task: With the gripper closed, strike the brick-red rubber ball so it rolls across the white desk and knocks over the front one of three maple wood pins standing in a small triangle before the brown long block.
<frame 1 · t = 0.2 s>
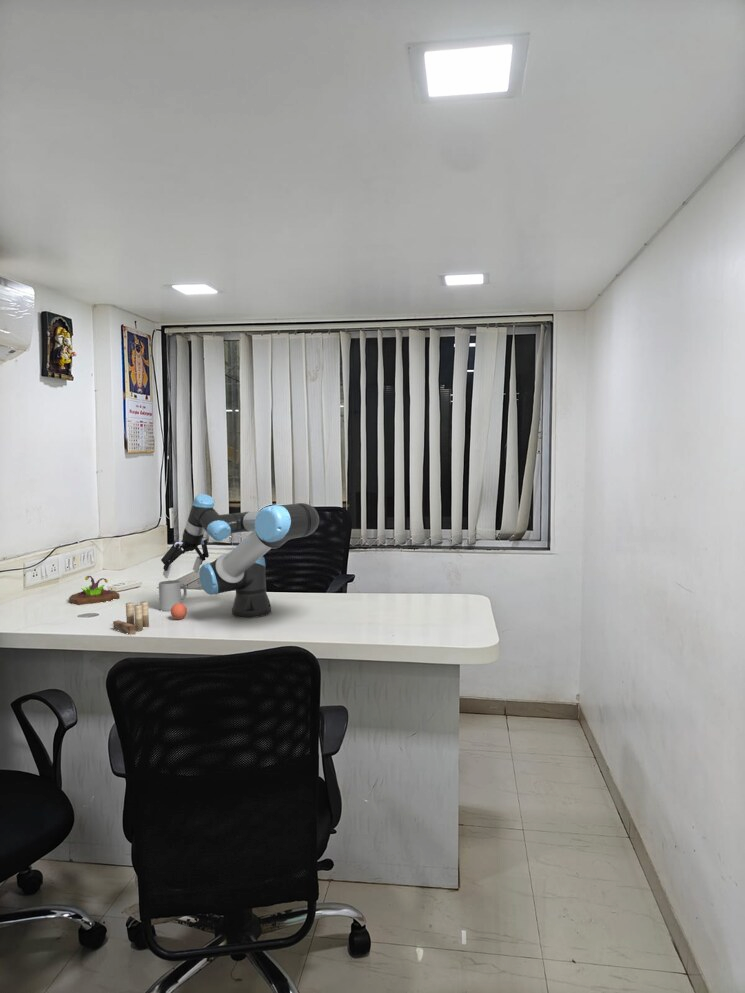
hand: (180, 573, 262), 15 cm above the table, tool tilted 35°, fingers open, 13 cm apart
plant: (93, 600, 288), on the table
brown long block: (124, 631, 232), on the table
pin 2: (139, 630, 233), on the table
ball: (178, 611, 248), on the table
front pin: (145, 626, 238), on the table
mug: (174, 608, 267), on the table
pin 1: (130, 627, 237), on the table
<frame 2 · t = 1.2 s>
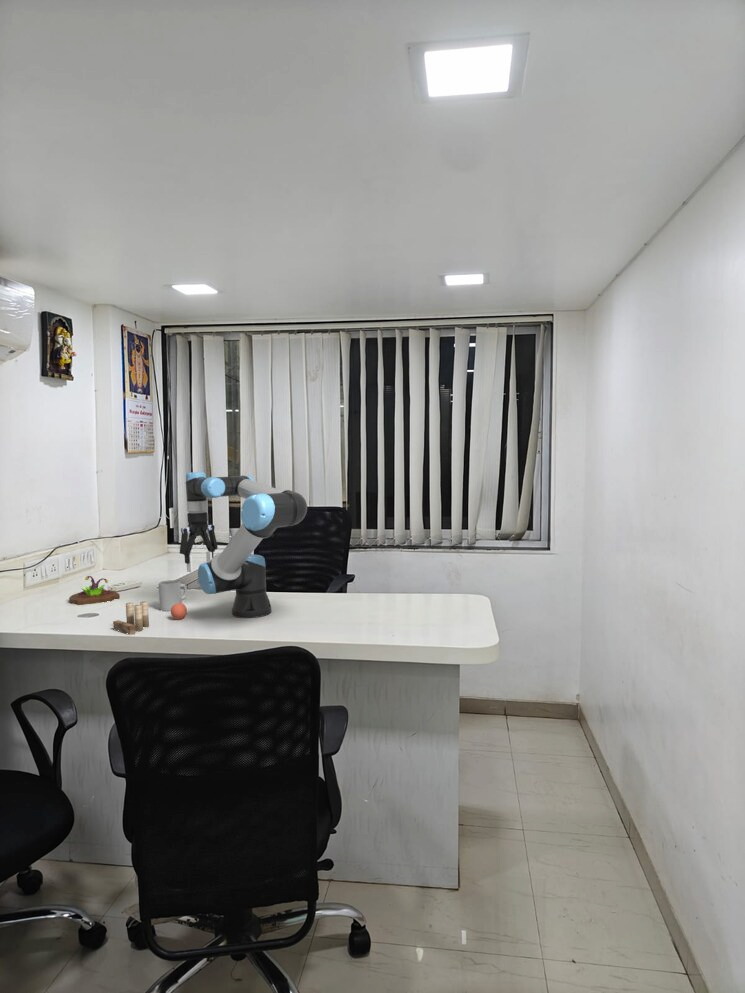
hand: (199, 569, 255), 17 cm above the table, tool pointing down, fingers open, 8 cm apart
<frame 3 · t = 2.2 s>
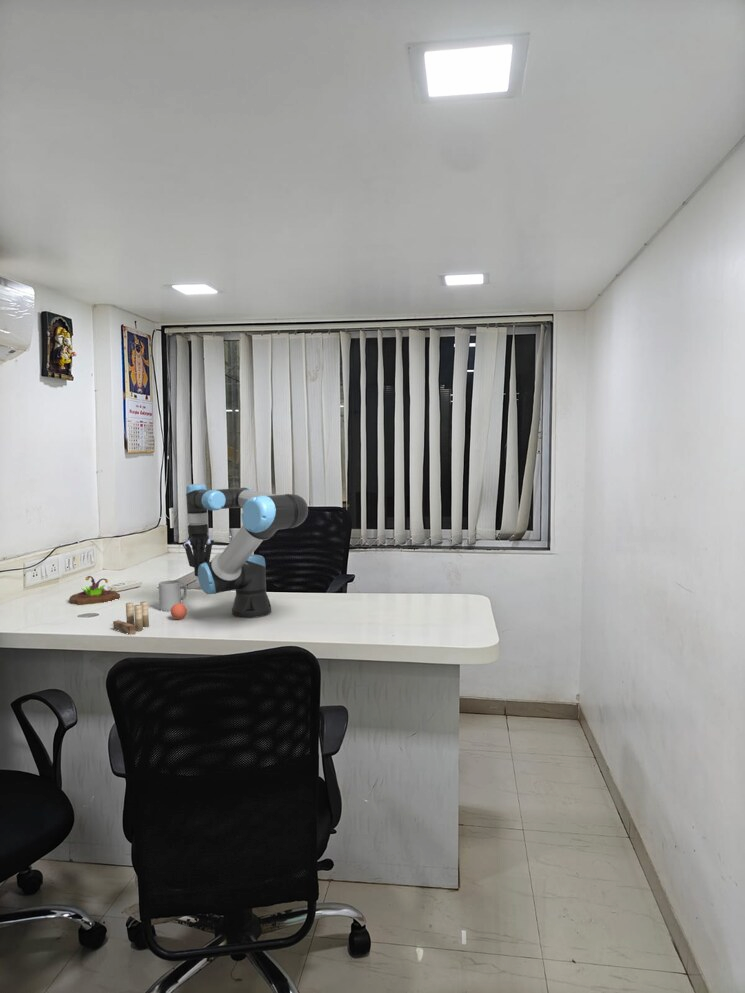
hand: (200, 583, 255), 12 cm above the table, tool pointing down, fingers closed
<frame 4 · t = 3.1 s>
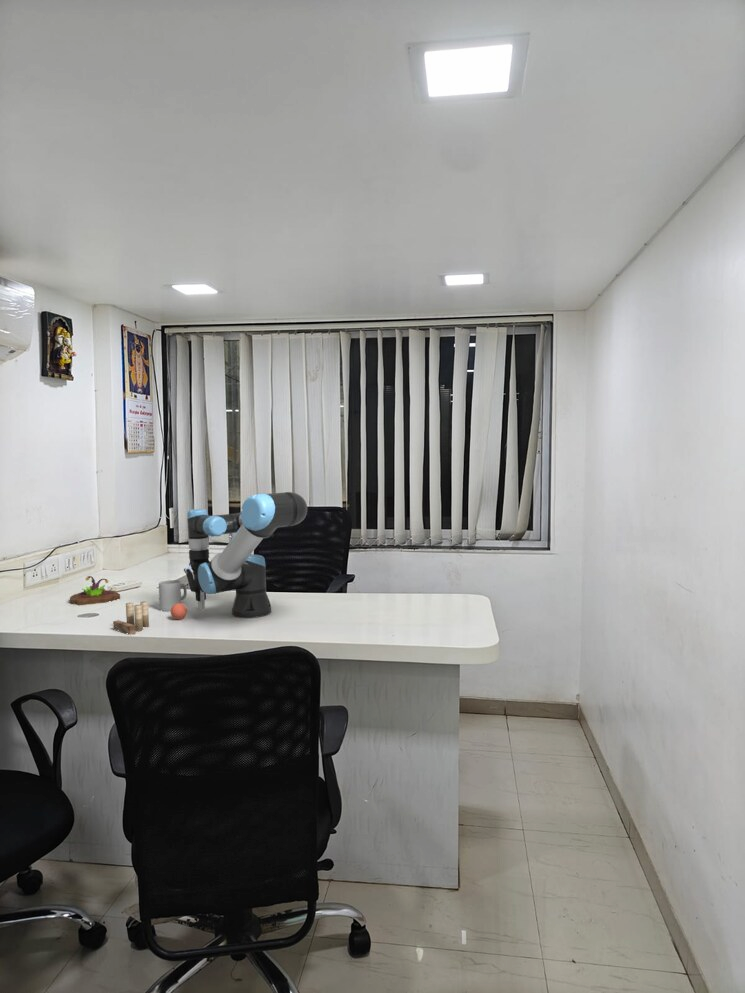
hand: (201, 608, 256), 2 cm above the table, tool pointing down, fingers closed
nothing on the table moved.
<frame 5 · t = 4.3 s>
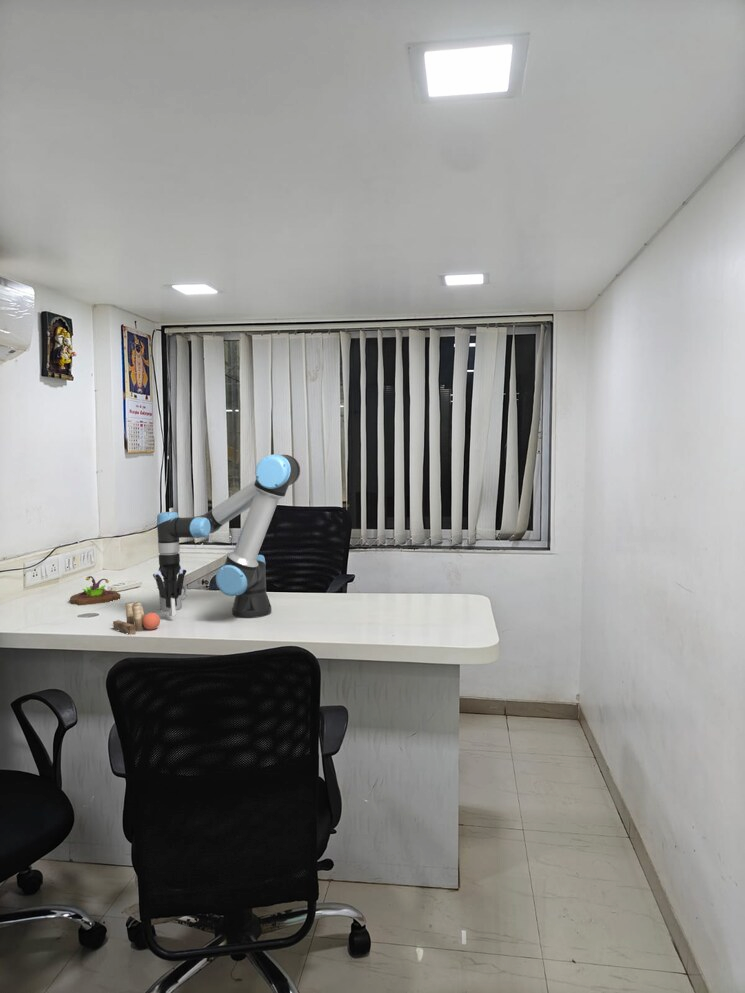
hand: (171, 615, 246), 2 cm above the table, tool pointing down, fingers closed
ball: (151, 621, 234), on the table
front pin: (145, 625, 238), on the table, tilted 16°
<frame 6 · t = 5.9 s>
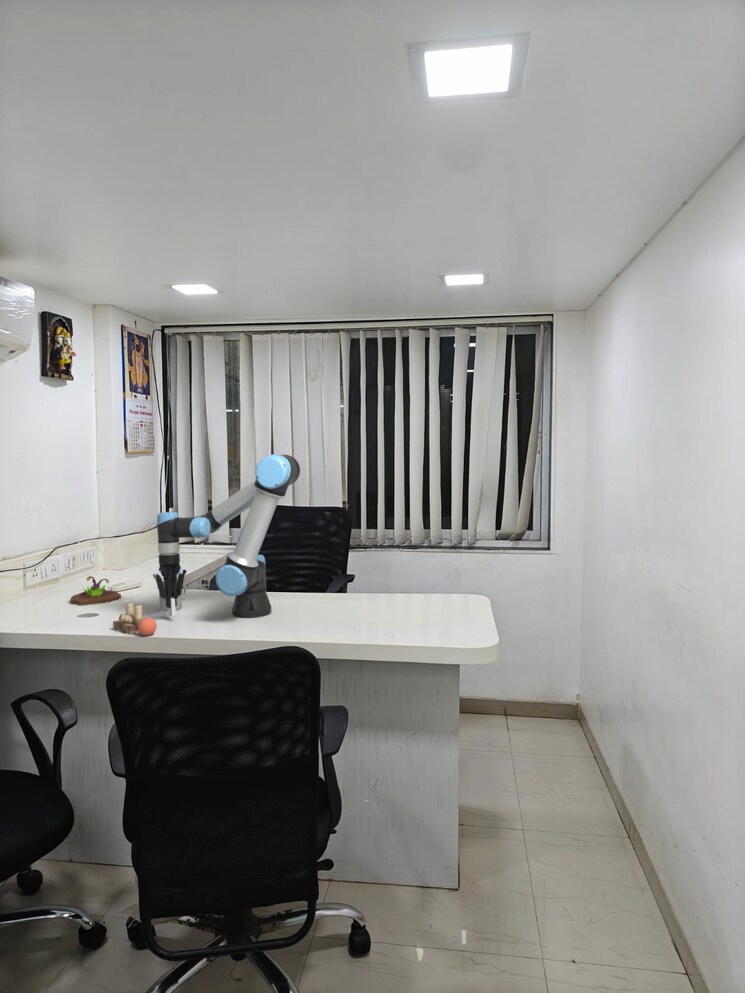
hand: (171, 615, 246), 2 cm above the table, tool pointing down, fingers closed
ball: (147, 626, 226), on the table
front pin: (143, 624, 237), point 1 cm above the table, tilted 62°, touching brown long block
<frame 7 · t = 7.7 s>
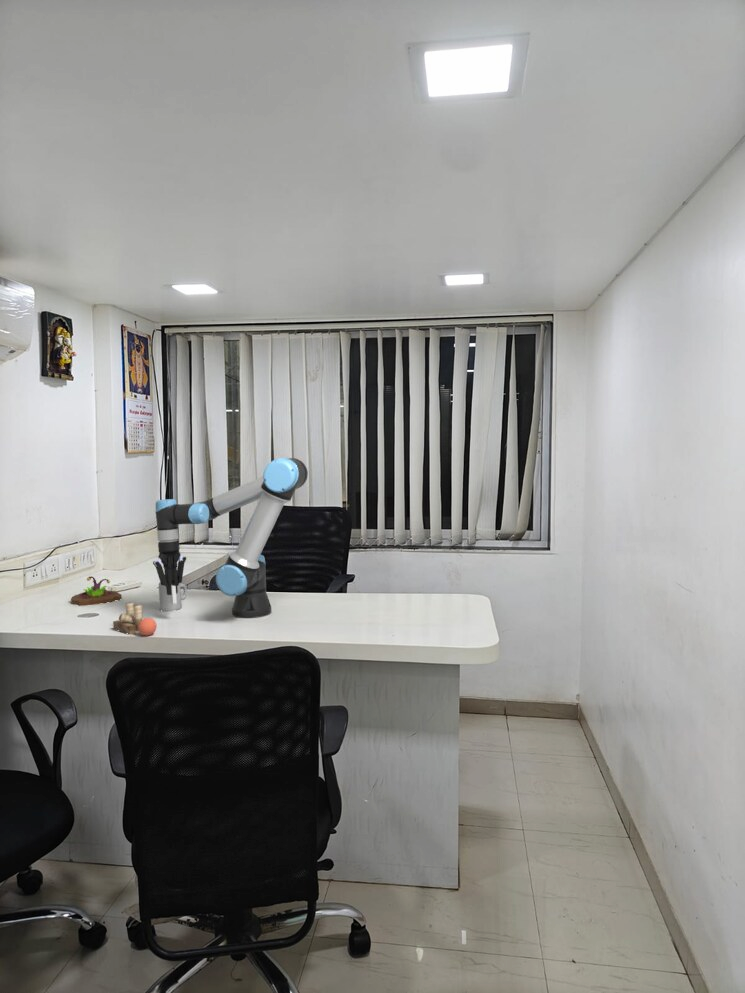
hand: (173, 602, 246), 7 cm above the table, tool pointing down, fingers closed
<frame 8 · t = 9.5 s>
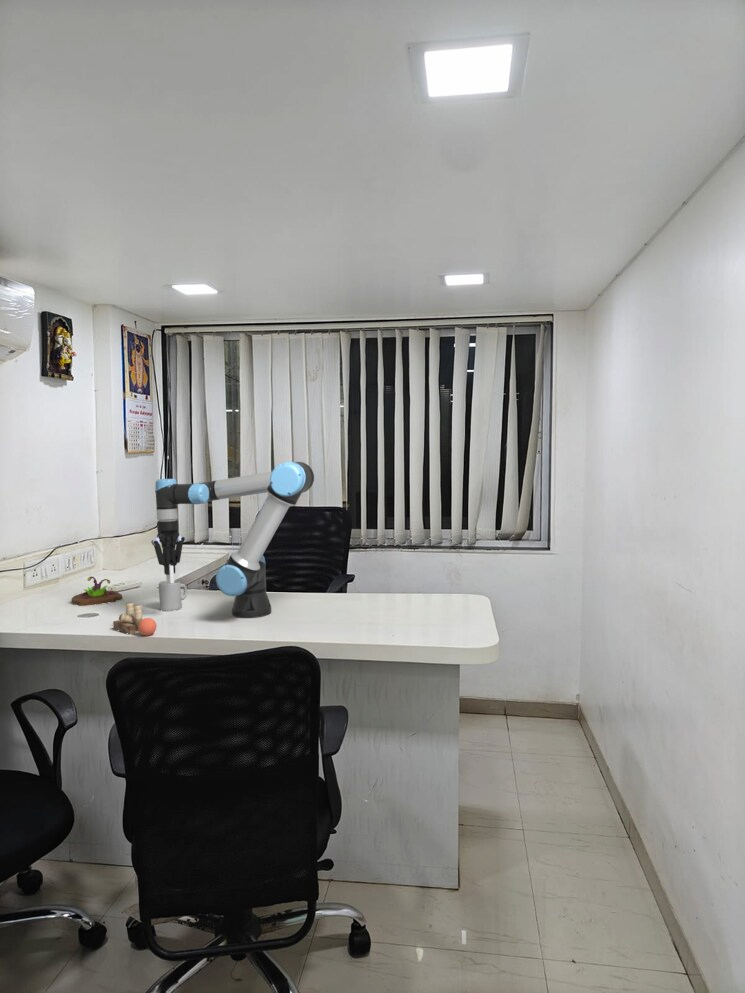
hand: (170, 582, 245), 14 cm above the table, tool pointing down, fingers closed
at the end: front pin tilted 62°; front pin never touched the robot; ball moved 22.6 cm from its start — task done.
